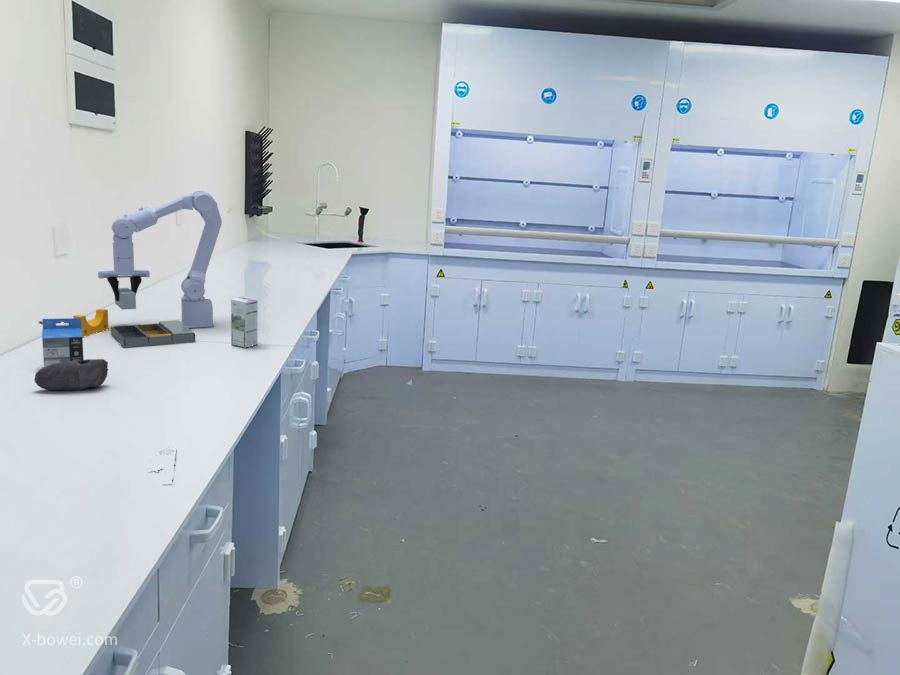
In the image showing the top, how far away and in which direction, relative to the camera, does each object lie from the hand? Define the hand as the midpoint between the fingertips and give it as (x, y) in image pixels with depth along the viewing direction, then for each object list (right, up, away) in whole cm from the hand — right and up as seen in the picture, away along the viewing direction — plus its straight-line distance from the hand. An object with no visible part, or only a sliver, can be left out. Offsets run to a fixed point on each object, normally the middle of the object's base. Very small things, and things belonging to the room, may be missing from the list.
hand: (125, 300), depth 213 cm
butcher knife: (+51, -36, -92) cm, 111 cm away
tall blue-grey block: (0, -2, +1) cm, 2 cm away
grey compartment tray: (+13, -12, -8) cm, 19 cm away
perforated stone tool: (+15, -24, -56) cm, 63 cm away
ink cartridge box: (+4, -20, -41) cm, 46 cm away
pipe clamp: (-8, -11, -7) cm, 15 cm away
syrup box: (+40, -14, -8) cm, 43 cm away
